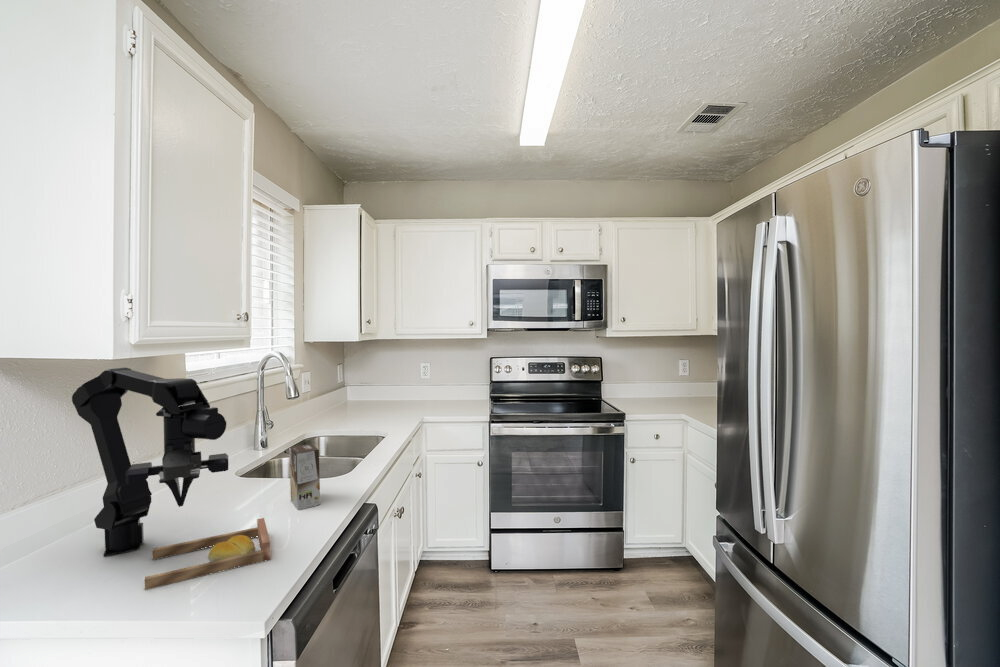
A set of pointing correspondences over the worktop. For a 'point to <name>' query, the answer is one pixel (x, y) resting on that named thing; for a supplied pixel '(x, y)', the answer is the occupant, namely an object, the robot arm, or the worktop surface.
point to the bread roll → (231, 548)
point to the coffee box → (304, 476)
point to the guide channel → (210, 566)
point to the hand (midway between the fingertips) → (180, 505)
